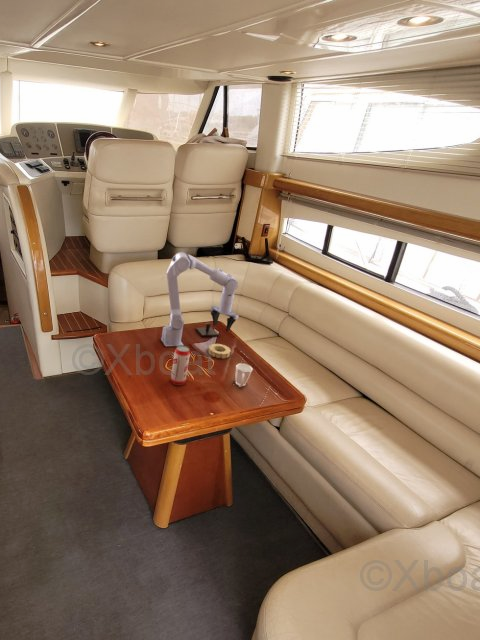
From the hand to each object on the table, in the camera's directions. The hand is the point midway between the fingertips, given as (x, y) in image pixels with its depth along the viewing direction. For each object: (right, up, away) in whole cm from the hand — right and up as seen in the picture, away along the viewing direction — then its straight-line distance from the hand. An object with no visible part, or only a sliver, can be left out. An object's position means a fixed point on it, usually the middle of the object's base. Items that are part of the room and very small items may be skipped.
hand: (221, 327), depth 189 cm
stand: (-4, -1, +17) cm, 17 cm away
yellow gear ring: (-2, -12, -2) cm, 13 cm away
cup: (+3, -27, -26) cm, 38 cm away
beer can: (-24, -25, -28) cm, 45 cm away
